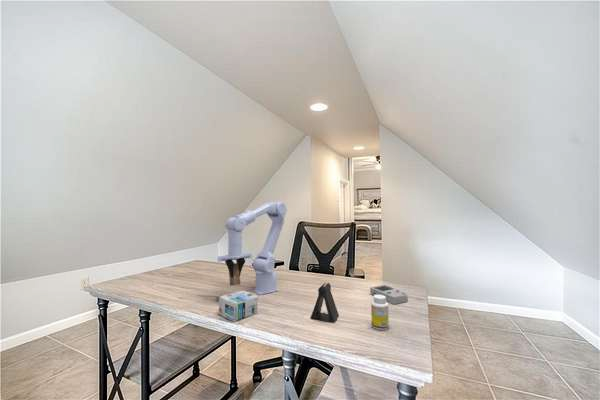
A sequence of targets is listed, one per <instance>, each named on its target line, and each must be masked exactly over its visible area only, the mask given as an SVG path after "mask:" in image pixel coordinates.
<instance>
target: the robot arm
mask: <svg viewBox="0 0 600 400" xmlns="http://www.w3.org/2000/svg"><path fill="white" fill-rule="evenodd" d="M287 211H288V209H287V207H286V204H285V203H284V202H283V201H276V202H275V201H273V202H271V201H269V202H266V203H264V204H262V205H261V206H259V207H257V208H256V209H254V210H250V209H249V210H248V209H247V210H244V211H243V212H242V213H240V214H236V215H235V217H230V218H228V219H227V221H226V223H225V228H226V230H227V234H228V240H227V243H228V246H227V248H228V249H227V250H228V254H227V255H222V256H217V262H218V263H222V262H225V266H227V269H228V274H229V273H230V277H231V278H233V267H234V263H235V262H236V263H238V265H239V276H240V277H241V273H242V271H243V267H244V265H245V263H246V259H252V257H253V256H252V253H250V252H249V253H243V236H242V235H243V230H244V229H245V227H246V226H248V225H250V224H252V223H253V222H255V221H256V218H258V217H260V216H262V215H265V214H267V216H268V218H269V219H270V220H271V222H272V223H271V225H270V228H269V231H268V234H267V236H266V239H265V242H264V245H263V247H262V251H260V252H259V253H257V254H256V257H255V258H254V259H253V261H252V268H253V270H254V273H255V288H254V289H252V291H253V292H255V293H256V294H257V295H259V296H261V295H265V294H268V293H269V294H270V293H274V292H278V289H277V274H276V272H275V271H274V269H275V262H276V257H275V256H274V255H273V254H274V252H275V249H276V247H277V243H278V241H279V237H280V235H281V231H282V230H283V226H284V223H285V217H286V214H287Z"/></svg>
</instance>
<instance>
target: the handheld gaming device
mask: <svg viewBox="0 0 600 400" xmlns="http://www.w3.org/2000/svg"><path fill="white" fill-rule="evenodd" d="M369 293H370V295H372V296H374V295H383V296H385V297H386V302H387V303H389V304H392V305H398V304H402V303H407V302H408V300H409V299H408V298H409V296H408V294H407V293H406V292H404V291H403V290H400V289H397V288H394V287H391V286H389V285H386V284H383V285H382V284H381V285H376V286H371V287H370V288H369Z"/></svg>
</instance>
